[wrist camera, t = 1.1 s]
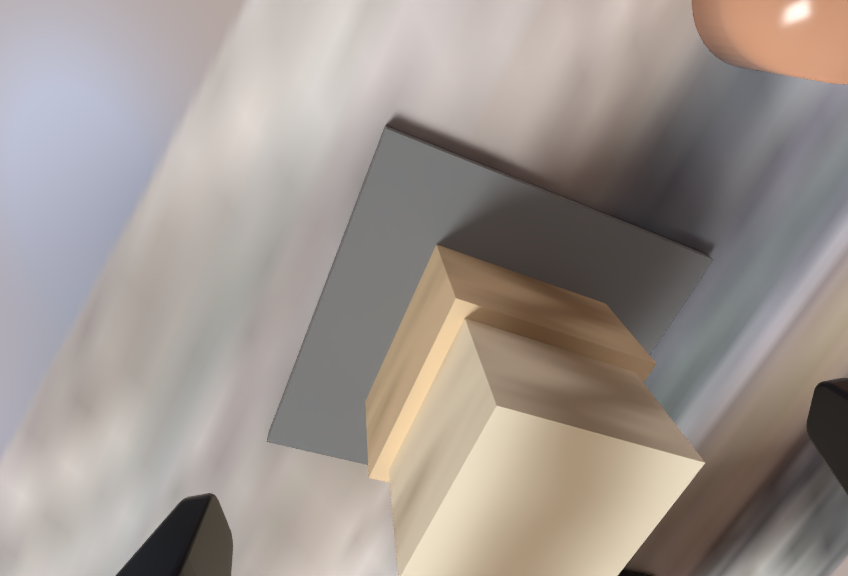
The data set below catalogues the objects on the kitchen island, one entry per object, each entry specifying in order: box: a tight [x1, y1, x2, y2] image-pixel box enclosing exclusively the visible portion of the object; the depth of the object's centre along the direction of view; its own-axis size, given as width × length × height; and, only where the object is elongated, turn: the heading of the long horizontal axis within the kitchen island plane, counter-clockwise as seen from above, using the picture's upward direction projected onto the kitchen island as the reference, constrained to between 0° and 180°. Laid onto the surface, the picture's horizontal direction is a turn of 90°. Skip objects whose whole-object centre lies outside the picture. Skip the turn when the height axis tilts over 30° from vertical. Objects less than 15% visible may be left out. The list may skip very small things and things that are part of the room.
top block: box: [389, 318, 705, 576], centre depth 17 cm, size 6×6×4 cm
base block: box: [365, 244, 656, 482], centre depth 20 cm, size 7×7×4 cm
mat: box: [267, 126, 714, 465], centre depth 22 cm, size 13×13×1 cm
